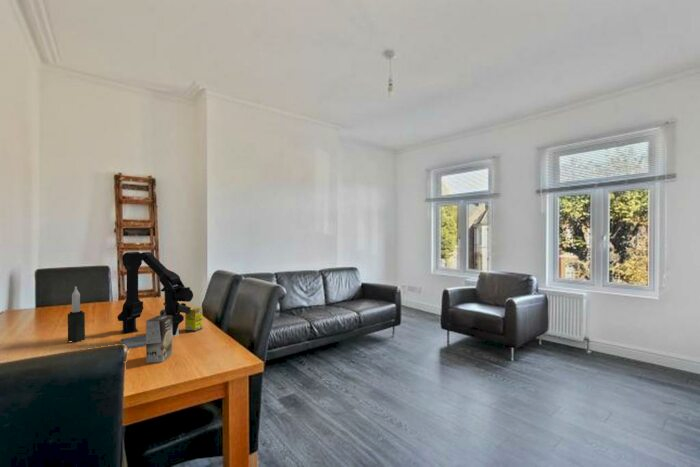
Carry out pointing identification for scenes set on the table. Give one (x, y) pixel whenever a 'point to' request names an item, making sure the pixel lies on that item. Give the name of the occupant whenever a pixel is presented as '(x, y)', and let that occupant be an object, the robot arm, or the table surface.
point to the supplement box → (193, 319)
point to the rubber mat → (134, 341)
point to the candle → (76, 319)
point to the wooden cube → (176, 332)
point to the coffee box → (159, 338)
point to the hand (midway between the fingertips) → (171, 333)
